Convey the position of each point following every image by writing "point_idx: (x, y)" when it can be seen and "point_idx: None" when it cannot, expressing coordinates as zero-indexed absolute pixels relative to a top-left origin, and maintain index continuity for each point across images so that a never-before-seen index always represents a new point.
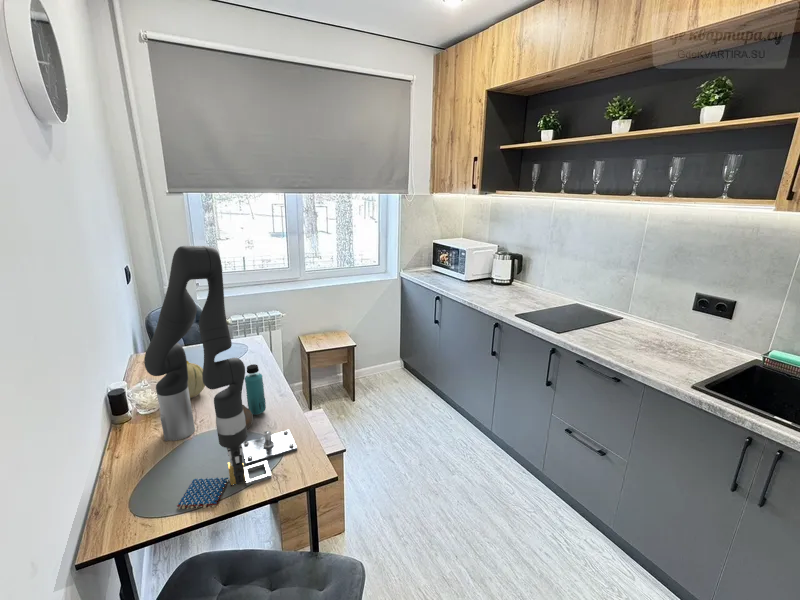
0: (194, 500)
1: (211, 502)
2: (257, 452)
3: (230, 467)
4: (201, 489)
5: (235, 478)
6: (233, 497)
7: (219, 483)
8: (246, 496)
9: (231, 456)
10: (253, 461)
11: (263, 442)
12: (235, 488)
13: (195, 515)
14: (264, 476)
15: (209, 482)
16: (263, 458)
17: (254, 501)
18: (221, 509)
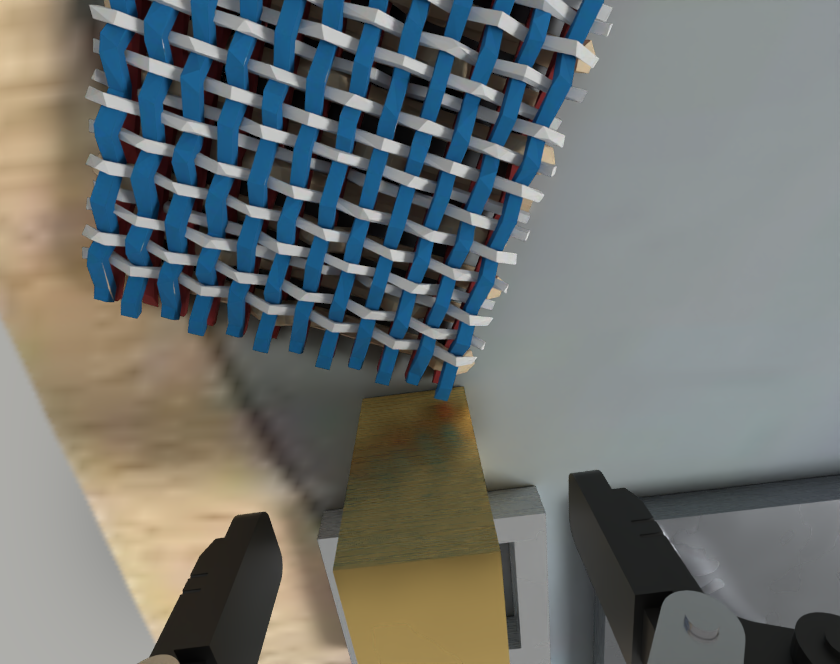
0: (144, 37)
1: (92, 255)
2: None
3: (369, 587)
4: (345, 115)
5: (203, 584)
6: (210, 421)
7: (394, 317)
8: (199, 509)
9: (631, 593)
10: None
11: None
12: (324, 432)
13: (4, 73)
14: (352, 648)
15: (446, 207)
16: (601, 632)
17: (131, 557)
18: (69, 332)
